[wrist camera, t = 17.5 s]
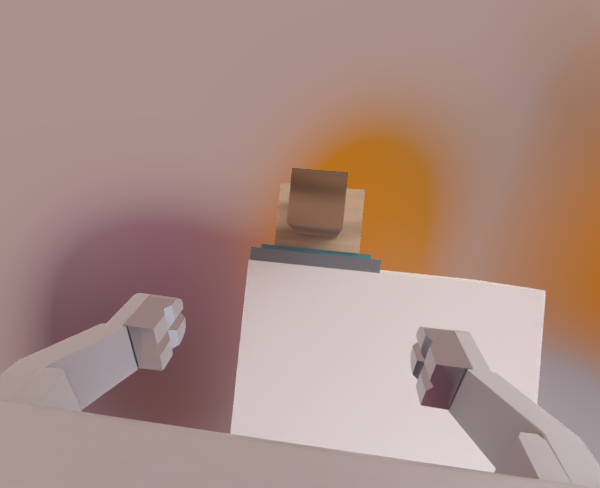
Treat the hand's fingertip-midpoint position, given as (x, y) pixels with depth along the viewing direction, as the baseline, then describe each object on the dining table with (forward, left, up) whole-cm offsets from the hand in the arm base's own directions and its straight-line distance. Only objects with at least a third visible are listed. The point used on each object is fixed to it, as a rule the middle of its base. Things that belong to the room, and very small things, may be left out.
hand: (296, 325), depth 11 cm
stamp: (0, -17, +3) cm, 17 cm away
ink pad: (0, -23, +1) cm, 23 cm away
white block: (-7, -23, -23) cm, 33 cm away
